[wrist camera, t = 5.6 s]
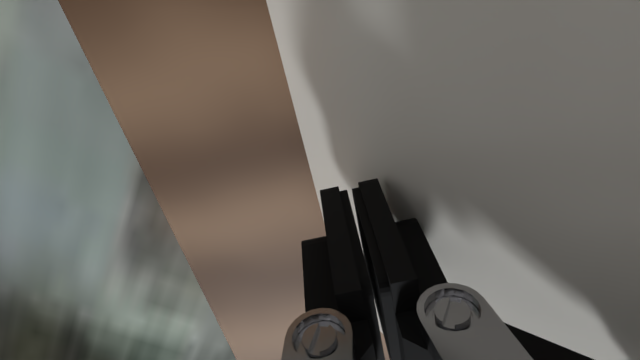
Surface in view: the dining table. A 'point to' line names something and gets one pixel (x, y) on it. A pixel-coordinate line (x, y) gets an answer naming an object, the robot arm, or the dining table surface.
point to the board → (214, 149)
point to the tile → (489, 144)
